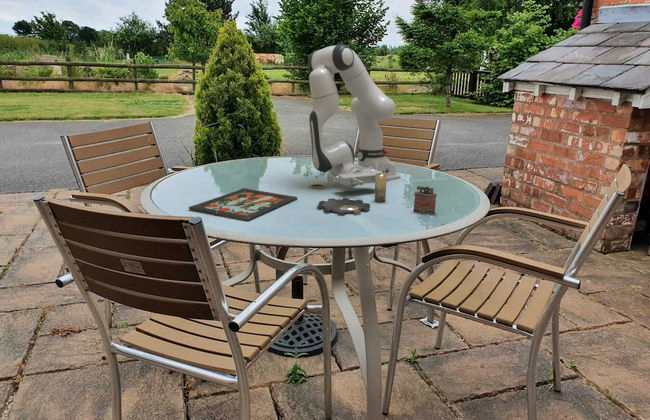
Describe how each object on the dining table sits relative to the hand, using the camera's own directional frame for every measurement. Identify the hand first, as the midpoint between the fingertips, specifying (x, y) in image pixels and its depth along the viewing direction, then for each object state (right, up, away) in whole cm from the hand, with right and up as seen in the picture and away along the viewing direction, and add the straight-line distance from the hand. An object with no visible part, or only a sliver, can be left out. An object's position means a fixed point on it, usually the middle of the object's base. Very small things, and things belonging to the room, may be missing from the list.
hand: (371, 181), depth 197 cm
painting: (-49, -10, -11) cm, 52 cm away
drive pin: (+3, -8, -4) cm, 9 cm away
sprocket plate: (-12, -11, -14) cm, 21 cm away
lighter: (+18, -13, -18) cm, 28 cm away
